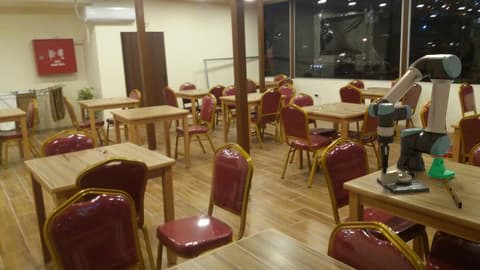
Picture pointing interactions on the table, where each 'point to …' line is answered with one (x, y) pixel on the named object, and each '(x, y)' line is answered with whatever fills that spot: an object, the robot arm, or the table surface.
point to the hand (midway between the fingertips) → (383, 179)
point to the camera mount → (439, 169)
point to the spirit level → (452, 193)
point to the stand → (406, 186)
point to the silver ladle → (395, 178)
